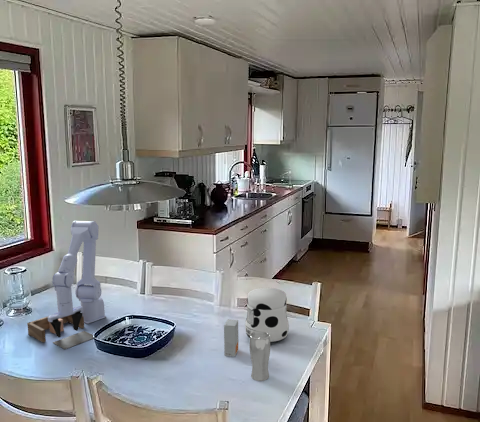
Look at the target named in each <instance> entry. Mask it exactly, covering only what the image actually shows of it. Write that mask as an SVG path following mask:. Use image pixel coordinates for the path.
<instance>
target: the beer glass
mask: <svg viewBox="0 0 480 422" xmlns="http://www.w3.org/2000/svg"><path fill="white" fill-rule="evenodd" d="M249 354H250V360H251V361H250V362H251V367H252V368H251V374H250V375H251V376H250V377H251V379H252V380H254V381H256V382H264V381H267V380H268V379H269V378H270V373H269V362H270V355H271V343H270V334H269V333H268V332H265V331H254V332H252V333H251V334H250V338H249Z"/></svg>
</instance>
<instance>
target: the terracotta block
mask: <svg viewBox="0 0 480 422" xmlns="http://www.w3.org/2000/svg"><path fill="white" fill-rule="evenodd" d="M58 320H59V321H60V322H61V328H60V330H61V333H62V332H64V324H63V319H61V318H60V319H58ZM49 328H50V329H49V332H50V333H52V334H54V335H56V332H55V330H54V328H53V326H52V325H51V323H50V322H49Z"/></svg>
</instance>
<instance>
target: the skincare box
mask: <svg viewBox="0 0 480 422" xmlns="http://www.w3.org/2000/svg"><path fill="white" fill-rule="evenodd" d="M223 337H224V338H223V342H224V343H223V346H224V347H223V348H224V349H223V350H224V352H223V353H224V356H225V357H235V358H236V356H237V353H238V351H239V320H238V319H230V318H229V319H227V320H226V322H225V323H224V325H223Z"/></svg>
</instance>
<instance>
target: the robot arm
mask: <svg viewBox="0 0 480 422" xmlns="http://www.w3.org/2000/svg"><path fill="white" fill-rule="evenodd" d="M70 234H71V239H70V243H69V246H68V251H67V254H65V255H63V257H62V260H61V262H60V266H59V267H58V269H57V270H58V271H57V272H56V273H54V274H53V276H52V281H51V284H52V285H53V287H54V291H56V303H57V312H54V313H52V314H51V315H48V321H49V322H50V323H51V325H52V326H53V328H54V330H55V332H56V334H55V335H56V336H57V337H58V338H61V337H62V332H61V330H60V328H61V322H60V321H59V320H58V319H60V318H63V317H66V316H69V315H71V316H72V320H73V324H72V328H73V331H76V332H77V331H79V328H80V327H79V323H80V320H81V318H82V316H84V324H86V325H87V324H91V323H93V322H97V321H101V320H103V319H105V318H106V317H107V316H106V314H105V313H106V310H105V303H104V299H103V298H102V296H101V295H102V287H101V282H100V281H99V280H98V279H97V278H96V276H95V275H96V251H97V240H98V239H99V225H98V222H96V221H94V220H92V221H90V220H73V221H72V223H71V227H70ZM82 244H83V250H82V251H83V253H82V274H81V275H82V278H81V279H79V280H78V281H77V283H76V288H75V297H76V299H78V301H79V302H80V305H79V306H75V307H74V305H73V292H72V285H73V284H74V280H75V272H74V271H75V268H76V266H77V264H78V263H77V262H78V258H77V255H78V252H79V250H80V249H81V247H82Z"/></svg>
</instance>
